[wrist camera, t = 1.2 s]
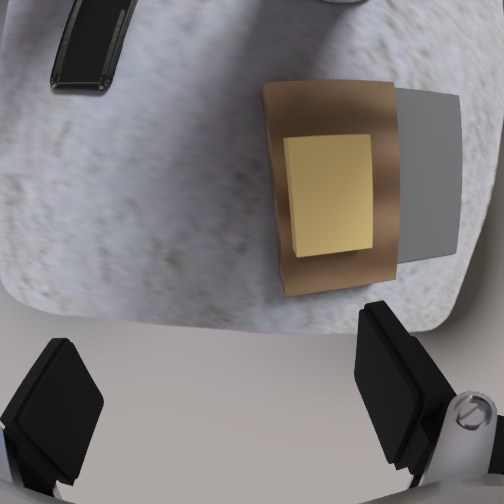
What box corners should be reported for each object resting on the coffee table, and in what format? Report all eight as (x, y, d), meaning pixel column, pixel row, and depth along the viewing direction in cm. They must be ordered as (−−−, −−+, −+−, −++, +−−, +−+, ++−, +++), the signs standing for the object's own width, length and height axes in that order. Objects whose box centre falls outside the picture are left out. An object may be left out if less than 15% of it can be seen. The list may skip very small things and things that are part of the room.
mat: (380, 87, 27) (381, 86, 27) (457, 95, 27) (458, 95, 27) (384, 263, 34) (385, 264, 34) (454, 252, 34) (455, 253, 34)
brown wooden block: (261, 88, 27) (264, 82, 23) (376, 87, 27) (393, 82, 23) (280, 278, 34) (285, 296, 30) (380, 264, 34) (395, 279, 30)
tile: (283, 138, 25) (287, 138, 23) (360, 133, 25) (370, 134, 23) (292, 248, 29) (297, 257, 27) (363, 239, 29) (372, 247, 27)
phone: (47, 88, 24) (87, -29, 19) (53, 89, 25) (90, -25, 20) (107, 91, 25) (149, -33, 20) (112, 92, 26) (151, -29, 21)
